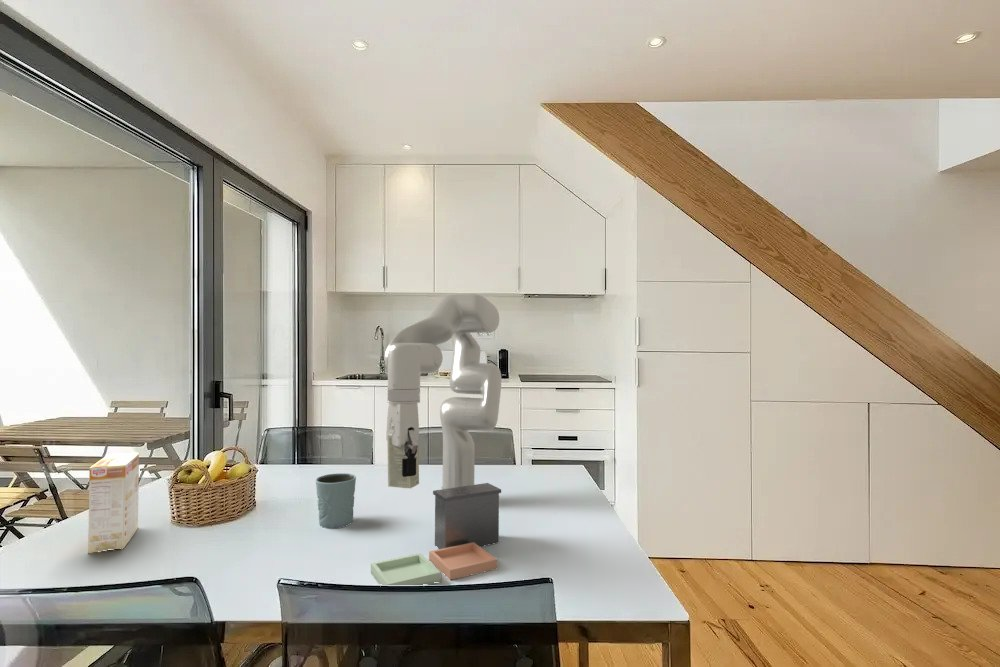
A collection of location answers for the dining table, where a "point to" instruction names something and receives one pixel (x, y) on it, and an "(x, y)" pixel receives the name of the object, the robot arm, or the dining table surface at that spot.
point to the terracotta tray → (462, 560)
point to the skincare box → (399, 467)
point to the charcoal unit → (467, 515)
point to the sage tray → (406, 571)
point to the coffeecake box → (113, 501)
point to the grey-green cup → (335, 499)
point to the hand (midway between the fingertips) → (403, 471)
